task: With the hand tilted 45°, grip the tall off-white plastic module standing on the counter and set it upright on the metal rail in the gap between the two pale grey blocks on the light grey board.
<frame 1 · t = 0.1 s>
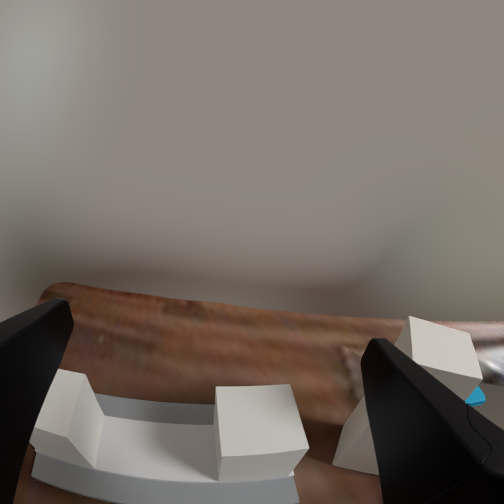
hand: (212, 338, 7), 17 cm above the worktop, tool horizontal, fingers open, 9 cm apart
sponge: (454, 376, 27), on the worktop
module: (363, 450, 18), on the worktop
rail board: (157, 455, 16), on the worktop
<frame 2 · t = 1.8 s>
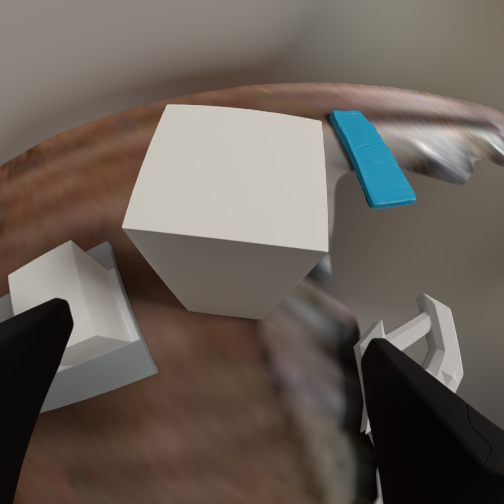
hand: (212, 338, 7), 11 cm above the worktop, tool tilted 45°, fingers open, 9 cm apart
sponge: (369, 158, 26), on the worktop
gun: (407, 408, 17), on the worktop
module: (228, 283, 19), on the worktop
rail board: (31, 349, 16), on the worktop
when the fingers open (9 cm above the worktop, at t = 9.0 s): module drops 1 cm, resting on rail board.
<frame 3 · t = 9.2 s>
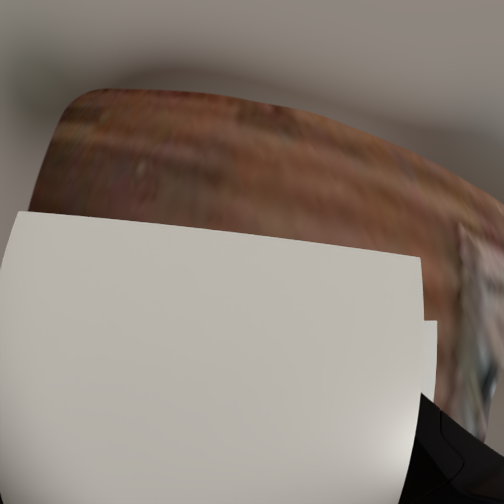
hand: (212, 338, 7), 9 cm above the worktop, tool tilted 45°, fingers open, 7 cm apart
module: (217, 370, 14), point 1 cm above the worktop, touching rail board
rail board: (218, 368, 15), on the worktop
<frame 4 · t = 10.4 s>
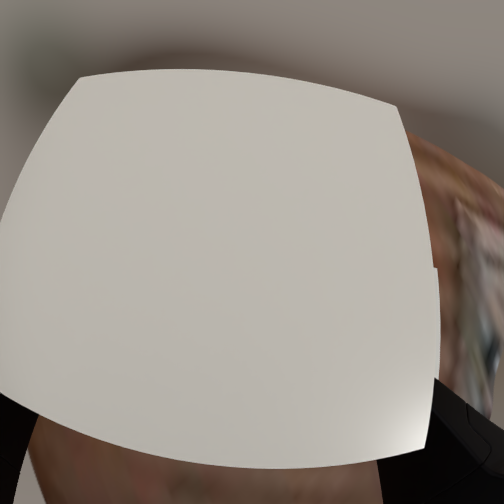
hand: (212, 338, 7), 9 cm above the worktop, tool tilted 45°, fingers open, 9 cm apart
module: (221, 325, 15), point 1 cm above the worktop, touching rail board
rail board: (222, 327, 16), on the worktop
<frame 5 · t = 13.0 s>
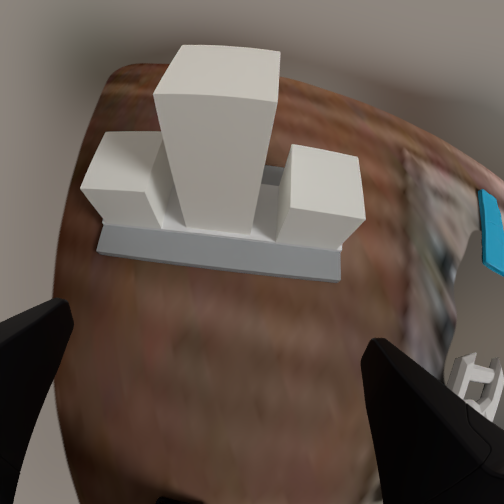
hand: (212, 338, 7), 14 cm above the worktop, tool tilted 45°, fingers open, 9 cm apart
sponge: (490, 233, 27), on the worktop
gun: (449, 429, 19), on the worktop
module: (222, 206, 23), point 1 cm above the worktop, touching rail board
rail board: (222, 212, 24), on the worktop
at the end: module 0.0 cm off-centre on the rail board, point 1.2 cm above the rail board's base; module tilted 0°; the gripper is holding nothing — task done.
